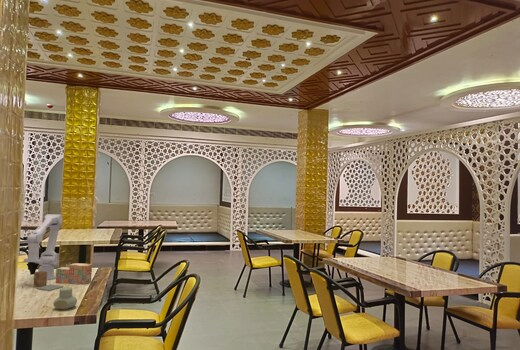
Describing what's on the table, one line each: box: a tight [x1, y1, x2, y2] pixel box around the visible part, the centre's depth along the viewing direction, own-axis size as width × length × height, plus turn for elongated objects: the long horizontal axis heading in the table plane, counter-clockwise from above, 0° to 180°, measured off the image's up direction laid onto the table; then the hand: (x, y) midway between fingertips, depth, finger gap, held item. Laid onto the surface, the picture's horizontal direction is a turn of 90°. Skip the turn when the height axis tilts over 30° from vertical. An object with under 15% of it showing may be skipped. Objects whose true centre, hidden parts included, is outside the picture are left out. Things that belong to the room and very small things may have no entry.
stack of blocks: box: [55, 262, 93, 285], centre depth 247 cm, size 21×6×12 cm, turn 84°
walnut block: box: [33, 271, 48, 289], centre depth 235 cm, size 5×5×9 cm
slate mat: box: [35, 283, 64, 292], centre depth 232 cm, size 11×10×1 cm
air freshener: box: [52, 287, 78, 311], centre depth 194 cm, size 11×8×10 cm
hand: (32, 274), depth 238 cm, fingers closed
